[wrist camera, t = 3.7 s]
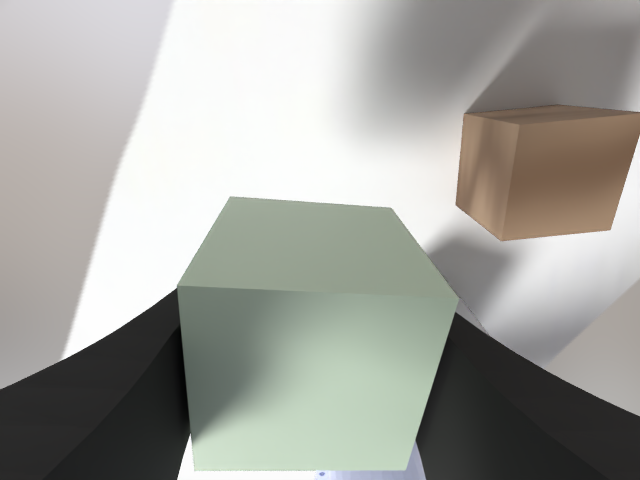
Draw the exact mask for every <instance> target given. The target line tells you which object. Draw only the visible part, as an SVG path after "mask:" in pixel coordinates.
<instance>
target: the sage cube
mask: <svg viewBox="0 0 640 480" xmlns="http://www.w3.org/2000/svg"><path fill="white" fill-rule="evenodd" d="M177 292H178V302H179V313H180V324H181V334H182V345H183V355H184V366H185V377H186V387H187V398H188V408H189V419H190V430H191V440H192V451H193V461H194V471H358V470H406V468H407V464H408V461H409V458H410V455H411V452H412V448H413V445H414V442H415V439H416V436H417V432H418V429H419V426H420V423H421V420H422V416H423V413H424V410H425V407H426V404H427V400H428V397H429V394H430V391H431V388H432V384H433V381H434V378H435V375H436V372H437V368H438V365H439V362H440V359H441V355H442V352H443V349H444V346H445V343H446V339H447V336H448V333H449V330H450V327H451V323H452V320H453V317H454V314H455V311H456V307H457V304H458V301H459V298H458V296H457V295H456V294H455V292H454V291H453V290H452V288H451V287H450V286H449V284H448V283H447V282H446V280H445V279H444V277H443V276H442V275H441V273H440V272H439V271H438V269H437V268H436V267H435V265H434V264H433V263H432V261H431V260H430V259H429V257H428V256H427V255H426V253H425V252H424V251H423V249H422V248H421V247H420V245H419V244H418V243H417V241H416V240H415V239H414V237H413V236H412V235H411V233H410V232H409V231H408V229H407V228H406V227H405V225H404V224H403V223H402V221H401V220H400V219H399V217H398V216H397V215H396V213H395V212H394V211H393V209H392V208H387V207H372V206H358V205H344V204H330V203H315V202H301V201H287V200H273V199H259V198H244V197H230V198H229V199H228V201H227V203H226V204H225V206H224V208H223V209H222V211H221V213H220V214H219V216H218V218H217V219H216V221H215V223H214V224H213V226H212V228H211V229H210V231H209V233H208V234H207V236H206V238H205V239H204V241H203V243H202V244H201V246H200V248H199V249H198V251H197V253H196V254H195V256H194V258H193V259H192V261H191V263H190V264H189V266H188V268H187V269H186V271H185V273H184V274H183V276H182V278H181V279H180V281H179V283H178V284H177Z"/></svg>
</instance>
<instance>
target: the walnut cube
mask: <svg viewBox="0 0 640 480" xmlns="http://www.w3.org/2000/svg"><path fill="white" fill-rule="evenodd" d="M639 135H640V112H632V111H621V110H610V109H599V108H589V107H578V106H567V105H551V106H541V107H530V108H519V109H509V110H498V111H488V112H477V113H466V114H464V118H463V129H462V140H461V151H460V162H459V173H458V184H457V195H456V206H457V207H459V208H460V209H461V210H462V211H464V212H465V213H466V214H468V215H469V216H470V217H471V218H473V219H474V220H475V221H476V222H478V223H479V224H480V225H481V226H483V227H484V228H485V229H486V230H488V231H489V232H490V233H492V234H493V235H494V236H495V237H497V238H498V239H499V240H500V241H507V240H517V239H527V238H537V237H547V236H557V235H567V234H577V233H587V232H597V231H607V230H611V226H612V223H613V220H614V217H615V213H616V210H617V207H618V204H619V200H620V197H621V194H622V191H623V187H624V184H625V181H626V178H627V174H628V171H629V168H630V165H631V161H632V158H633V155H634V152H635V148H636V145H637V142H638V139H639Z"/></svg>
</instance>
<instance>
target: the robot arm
mask: <svg viewBox="0 0 640 480" xmlns="http://www.w3.org/2000/svg"><path fill="white" fill-rule="evenodd" d="M190 433H191V430H190V419H189V408H188V398H187V387H186V377H185V366H184V355H183V345H182V334H181V324H180V313H179V302H178V292H177V288H176V289H175V290H174V291H172V292H171V293H170V294H168V295H167V296H166V297H164V298H163V299H161V300H160V301H159V302H157V303H156V304H155V305H153V306H152V307H151V308H149V309H148V310H146V311H145V312H143V313H142V314H140V315H139V316H137V317H136V318H134V319H133V320H131V321H130V322H128V323H127V324H125V325H124V326H122V327H121V328H119V329H117V330H116V331H114V332H113V333H111V334H109V335H108V336H106V337H104V338H103V339H101V340H99V341H97V342H96V343H94V344H92V345H90V346H88V347H87V348H85V349H83V350H81V351H79V352H77V353H76V354H74V355H72V356H70V357H68V358H66V359H64V360H62V361H60V362H58V363H56V364H54V365H52V366H50V367H47V368H45V369H43V370H41V371H39V372H37V373H35V374H33V375H31V376H29V377H27V378H25V379H22V380H21V381H18V382H16V383H14V384H12V385H10V386H7V387H5V388H3V389H0V480H177V478H178V474H179V470H180V466H181V462H182V458H183V455H184V452H185V448H186V445H187V442H188V439H189V436H190ZM315 480H640V416H638V415H635V414H633V413H631V412H628V411H626V410H624V409H622V408H620V407H617V406H615V405H613V404H611V403H609V402H607V401H604V400H602V399H600V398H598V397H596V396H594V395H592V394H590V393H588V392H586V391H584V390H582V389H580V388H578V387H576V386H574V385H572V384H570V383H568V382H566V381H564V380H562V379H560V378H559V377H557V376H555V375H553V374H551V373H549V372H547V371H546V370H544V369H542V368H540V367H539V366H537V365H535V364H534V363H532V362H530V361H528V360H527V359H525V358H523V357H522V356H520V355H518V354H517V353H515V352H513V351H512V350H510V349H509V348H507V347H505V346H504V345H502V344H501V343H499V342H498V341H496V340H495V339H493V338H492V337H490V336H489V335H487V334H486V333H484V332H483V331H482V330H480V329H479V328H477V327H476V326H474V325H473V324H472V323H470V322H469V321H468V320H466V319H465V318H463V317H462V316H461V315H459V314H458V313H457V312H455V314H454V317H453V320H452V323H451V327H450V330H449V333H448V336H447V339H446V343H445V346H444V349H443V352H442V355H441V359H440V362H439V365H438V368H437V372H436V375H435V378H434V381H433V384H432V388H431V391H430V394H429V397H428V400H427V404H426V407H425V410H424V413H423V416H422V420H421V423H420V426H419V429H418V432H417V436H416V439H415V442H414V445H413V448H412V452H411V455H410V458H409V461H408V464H407V468H406V470H358V471H316V473H315Z"/></svg>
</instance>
